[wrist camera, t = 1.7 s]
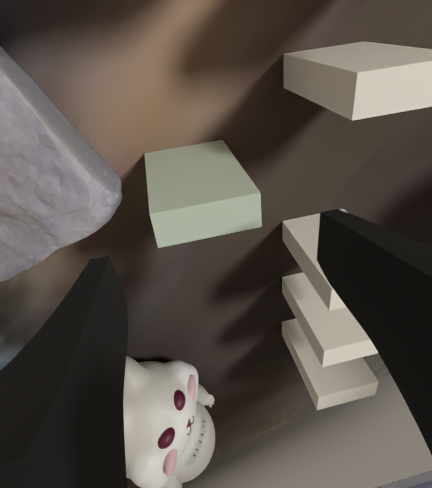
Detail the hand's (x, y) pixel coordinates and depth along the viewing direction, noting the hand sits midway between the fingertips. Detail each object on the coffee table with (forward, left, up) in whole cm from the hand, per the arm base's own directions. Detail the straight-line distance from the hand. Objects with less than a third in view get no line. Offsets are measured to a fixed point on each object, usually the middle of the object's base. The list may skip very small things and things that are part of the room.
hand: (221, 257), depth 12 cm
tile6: (-13, +12, -10) cm, 20 cm away
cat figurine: (-1, +20, -10) cm, 22 cm away
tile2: (-6, -6, -10) cm, 13 cm away
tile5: (-11, +8, -10) cm, 17 cm away
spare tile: (0, 0, -10) cm, 10 cm away
